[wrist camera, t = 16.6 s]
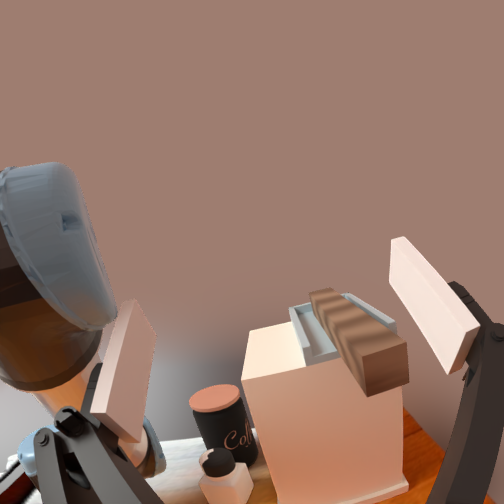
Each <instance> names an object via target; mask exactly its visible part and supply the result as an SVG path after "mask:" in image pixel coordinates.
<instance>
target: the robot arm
mask: <svg viewBox="0 0 504 504" xmlns="http://www.w3.org/2000/svg"><path fill="white" fill-rule="evenodd" d="M389 283H390V284H391V286H392V287H393V289H394V290H395V292H396V293H397V295H398V296H399V298H400V299H401V301H402V302H403V303H404V305H405V306H406V308H407V310H408V311H409V313H410V314H411V316H412V317H413V319H414V320H415V322H416V324H417V325H418V327H419V328H420V330H421V331H422V333H423V335H424V336H425V338H426V339H427V341H428V343H429V344H430V346H431V348H432V349H433V351H434V353H435V354H436V356H437V358H438V359H439V361H440V363H441V365H442V366H443V368H444V370H445V372H446V373H447V375H449V374H451V373H453V372H456V371H458V370H460V369H461V368H462V366H463V364H464V362H465V360H466V362H467V363H468V365H469V367H468V369H467V371H466V373H465V375H464V377H463V379H462V380H463V381H464V380H465V385H464V389H463V394H462V398H461V402H460V407H459V410H458V414H457V418H456V422H455V425H454V429H453V432H452V435H451V439H450V442H449V445H448V448H447V451H446V454H445V457H444V460H443V463H442V465H441V468H440V471H439V473H438V476H437V478H436V481H435V483H434V486H433V488H432V490H431V493H430V495H429V497H428V500H427V502H426V504H483V502H484V499H485V496H486V493H487V490H488V487H489V484H490V481H491V477H492V473H493V470H494V467H495V462H496V459H497V455H498V451H499V446H500V442H501V437H502V432H503V427H504V325H502V324H500V323H493V322H492V321H491V319H490V318H489V317H488V316H487V314H486V313H485V312H484V311H483V309H482V308H481V307H480V306H479V305H478V303H477V302H475V300H474V299H473V297H472V296H470V294H469V293H468V292H467V290H466V289H465V288H464V287H463V286H461V285H459V284H458V283H456V282H455V281H453V282H450V283H446V282H445V281H444V280H443V278H442V277H441V276H440V275H439V274H438V273H437V271H436V270H435V269H434V268H433V267H432V266H431V265H430V264H429V263H428V262H427V260H426V259H425V258H424V257H423V256H422V255H421V254H420V253H419V252H418V251H417V249H416V248H415V247H414V246H413V245H412V244H411V243H410V242H409V241H408V240H407V239H406V238H405V237H400V238H395V239H392V240H391V260H390V276H389ZM117 312H118V311H117V306H116V302H115V299H114V295H113V292H112V289H111V286H110V282H109V279H108V276H107V273H106V270H105V266H104V263H103V261H102V258H101V254H100V251H99V248H98V245H97V241H96V237H95V234H94V231H93V227H92V224H91V221H90V217H89V213H88V210H87V207H86V203H85V200H84V197H83V193H82V190H81V187H80V184H79V181H78V179H77V177H76V175H75V174H74V172H73V171H72V170H71V169H70V168H69V167H67V166H66V165H64V164H62V163H58V162H49V163H43V164H37V165H32V166H25V167H20V168H19V167H15V166H13V167H7V168H5V169H4V170H2V171H0V379H1V380H2V381H3V382H5V384H7V385H9V386H10V387H12V388H14V389H17V390H19V391H23V392H27V393H31V394H32V395H33V396H34V397H35V398H36V400H37V401H38V402H39V403H40V404H41V405H42V406H43V408H44V409H45V410H46V411H47V412H48V413H49V414H50V415H51V416H52V417H53V418H54V425H48V426H45V427H42V428H40V429H38V430H36V431H34V432H33V433H31V434H30V435H28V436H27V437H26V438H25V439H24V440H23V441H22V442H21V444H20V445H19V448H18V452H17V454H18V459H19V461H20V463H21V464H22V466H23V468H24V470H25V473H26V474H27V476H29V478H30V479H31V481H32V482H33V484H34V485H35V486H36V488H37V489H38V491H39V492H40V493H41V498H42V502H43V504H164V503H163V501H162V500H161V499H160V498H159V497H158V495H157V494H156V493H155V492H154V491H153V489H152V488H151V487H150V486H149V484H148V483H147V482H146V481H145V479H146V478H152V477H154V476H155V475H157V474H160V473H162V472H164V471H165V469H166V460H165V456H164V454H163V453H162V452H163V451H162V448H161V445H160V443H159V440H158V438H157V436H156V434H155V431H154V429H153V428H152V426H151V424H150V422H149V420H148V419H147V418H146V417H145V416H144V411H145V404H146V397H147V390H148V384H149V377H150V371H151V365H152V359H153V353H154V347H155V342H156V336H157V335H156V334H155V332H154V330H153V329H152V327H151V325H150V324H149V322H148V320H147V318H146V317H145V315H144V313H143V311H142V310H141V308H140V306H139V304H138V302H137V301H136V299H132V300H127V301H123V302H122V305H121V308H120V311H119V314H118V317H117ZM116 317H117V320H116V323H115V326H114V329H113V332H112V335H111V338H110V342H109V345H108V348H107V351H106V355H105V358H104V361H103V363H102V362H101V360H100V357H99V355H98V350H99V348H100V345H101V342H102V337H103V328H104V327H105V326H106V324H109V323H111V322H112V321H114V319H115V318H116ZM465 378H466V379H465Z"/></svg>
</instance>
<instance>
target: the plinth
mask: <svg viewBox="0 0 504 504" xmlns="http://www.w3.org/2000/svg"><path fill="white" fill-rule="evenodd" d="M241 382H242V385H243V388H244V392H245V396H246V399H247V402H248V405H249V409H250V412H251V416H252V419H253V422H254V425H255V429H256V432H257V435H258V438H259V441H260V445H261V448H262V451H263V454H264V457H265V460H266V463H267V466H268V469H269V472H270V475H271V478H272V481H273V484H274V487H275V490H276V493H277V499H278V504H374V503H377V502H380V501H383V500H386V499H389V498H391V497H394V496H397V495H399V494H402V493H405V492H407V491H408V488H409V484H408V482H407V480H406V478H405V477H404V475H403V473H402V466H403V402H402V386H399V387H396V388H394V389H391V390H388V391H385V392H382V393H379V394H376V395H373V396H370V397H366V395H365V394H364V392H363V390H362V389H361V387H360V386H359V384H358V382H357V381H356V379H355V378H354V376H353V375H352V373H351V372H350V370H349V368H348V367H347V365H346V364H345V362H344V361H343V359H342V357H340V358H337V359H333V360H330V361H326V362H322V363H318V364H314V365H310V366H306V365H305V361H304V358H303V355H302V352H301V349H300V346H299V343H298V340H297V337H296V334H295V331H294V328H293V324H292V321H291V322H287V323H283V324H279V325H275V326H270V327H265V328H261V329H256V330H252V331H250V334H249V340H248V345H247V351H246V356H245V362H244V367H243V373H242V378H241Z"/></svg>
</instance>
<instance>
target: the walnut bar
mask: <svg viewBox="0 0 504 504" xmlns="http://www.w3.org/2000/svg"><path fill="white" fill-rule="evenodd" d="M309 296H310V300H311V306H312V310H313V314H314V316H315V317H316V319H317V320H318V322H319V323H320V325H321V327H322V328H323V330H324V331H325V333H326V334H327V336H328V337H329V339H330V340H331V342H332V344H333V345H334V347H335V348H336V350H337V351H338V353H339V354H340V356H341V357H342V359H343V361H344V362H345V364H346V365H347V367H348V368H349V370H350V372H351V373H352V375H353V376H354V378H355V379H356V381H357V382H358V384H359V386H360V387H361V389H362V390H363V392H364V394H365V395H366V397H370V396H373V395H376V394H379V393H382V392H385V391H388V390H391V389H394V388H396V387H399V386H402V385H405V384H407V383H409V369H408V355H407V343H406V341H405V340H403V339H402V338H400V337H399V336H398V335H396V334H395V333H393V332H392V331H391V330H389V329H388V328H387V327H385V326H384V325H382V324H381V323H380V322H378V321H377V320H375V319H374V318H373V317H371V316H370V315H368V314H367V313H366V312H364V311H363V310H361V309H360V308H359V307H357V306H356V305H354V304H353V303H352V302H350V301H349V300H347V299H346V298H344V297H343V296H342V295H340V294H339V293H337V292H336V291H335V290H333V289H332V288H326V289H322V290H318V291H315V292H310V293H309Z"/></svg>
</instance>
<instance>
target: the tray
mask: <svg viewBox="0 0 504 504" xmlns="http://www.w3.org/2000/svg"><path fill="white" fill-rule="evenodd" d="M341 295H342V296H343V297H344V298H346V299H347V300H349V301H350V302H352V303H353V304H354V305H356V306H357V307H359V308H360V309H361V310H363V311H364V312H366V313H367V314H368V315H370V316H371V317H373V318H374V319H375V320H377V321H378V322H380V323H381V324H382V325H384V326H385V327H387V328H388V329H389V330H391V331H392V332H393V333H395V334H396V335H397V328H396V321H395V320H393V319H391V318H390V317H388V316H387V315H385V314H383V313H381V312H380V311H378V310H377V309H375V308H373V307H372V306H370V305H368V304H367V303H365V302H364V301H362V300H360V299H359V298H357V297H355V296H354V295H352V294H350V293H344V294H341ZM288 309H289V313H290V318H291V321H292V324H293V328H294V331H295V334H296V337H297V340H298V343H299V346H300V349H301V352H302V355H303V358H304V361H305V365H306V366H310V365H314V364H318V363H322V362H326V361H330V360H333V359H337V358H340V357H341V356H340V354H339V353H338V351H337V350H336V348H335V347H334V345H333V344H332V342H331V340H330V339H329V337H328V336H327V334H326V333H325V331H324V330H323V328H322V327H321V325H320V323H319V322H318V320H317V319H316V317H315V316H314V314H313V310H312V306H311V302H310V303H306V304H302V305H298V306H294V307H290V308H288Z"/></svg>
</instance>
